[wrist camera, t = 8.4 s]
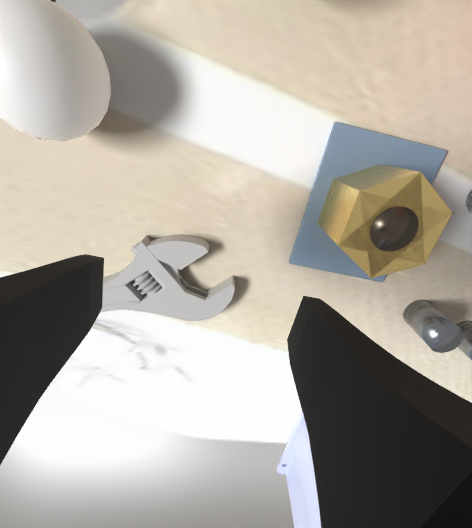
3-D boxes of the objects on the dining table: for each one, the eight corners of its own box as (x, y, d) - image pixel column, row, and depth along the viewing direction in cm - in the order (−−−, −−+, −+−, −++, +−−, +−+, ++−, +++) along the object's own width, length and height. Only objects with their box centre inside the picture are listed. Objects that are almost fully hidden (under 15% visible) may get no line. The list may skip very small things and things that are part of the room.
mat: (380, 280, 21) (382, 282, 20) (288, 261, 20) (289, 263, 20) (444, 150, 17) (447, 150, 17) (334, 122, 16) (336, 121, 16)
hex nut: (378, 258, 20) (412, 287, 16) (310, 244, 19) (328, 270, 15) (418, 173, 17) (469, 184, 14) (341, 154, 17) (372, 160, 13)
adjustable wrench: (-73, 336, 23) (-97, 352, 21) (-124, 265, 20) (-155, 276, 19) (234, 305, 22) (235, 318, 20) (223, 224, 19) (222, 232, 18)
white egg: (117, 16, 14) (53, -49, 9) (134, 140, 17) (90, 143, 12) (-37, 15, 14) (-188, -51, 9) (2, 140, 17) (-100, 142, 11)
